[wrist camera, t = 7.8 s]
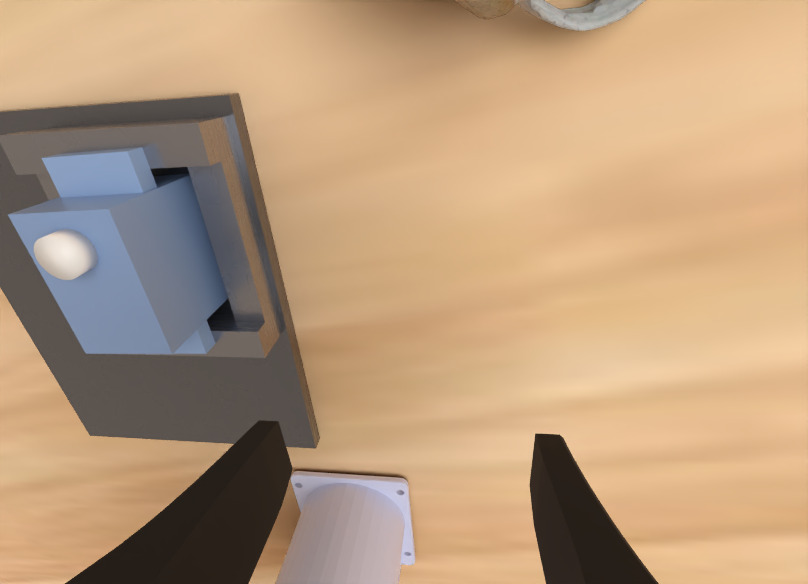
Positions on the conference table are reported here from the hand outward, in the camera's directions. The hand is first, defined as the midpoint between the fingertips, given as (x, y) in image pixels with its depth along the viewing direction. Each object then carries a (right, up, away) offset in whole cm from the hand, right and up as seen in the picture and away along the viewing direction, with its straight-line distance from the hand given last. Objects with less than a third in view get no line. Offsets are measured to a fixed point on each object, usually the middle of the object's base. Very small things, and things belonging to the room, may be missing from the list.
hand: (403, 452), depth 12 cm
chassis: (-14, +4, +11) cm, 18 cm away
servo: (-11, +7, +8) cm, 15 cm away
